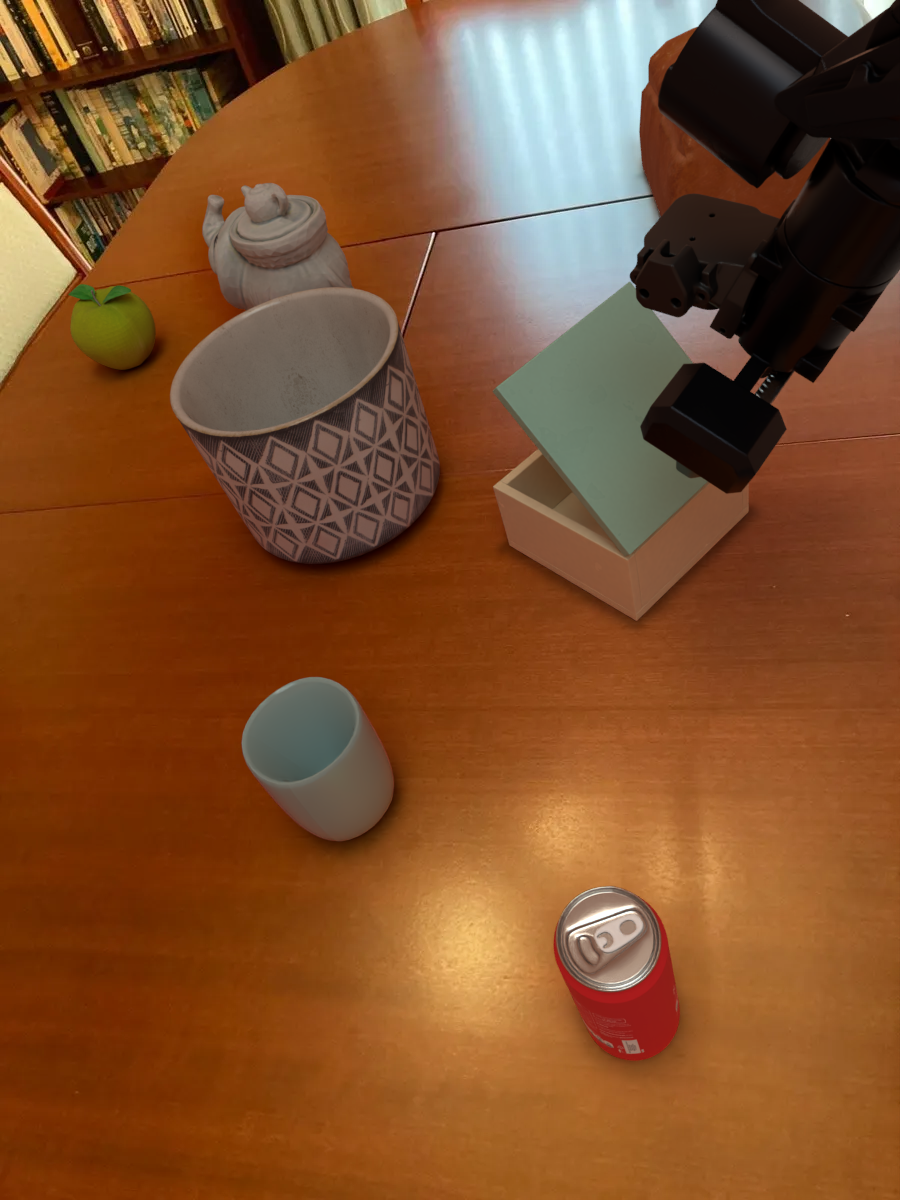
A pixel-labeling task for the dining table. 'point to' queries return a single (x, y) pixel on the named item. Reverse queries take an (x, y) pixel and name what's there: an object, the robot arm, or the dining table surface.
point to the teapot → (272, 247)
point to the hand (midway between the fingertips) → (721, 421)
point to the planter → (312, 423)
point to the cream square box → (585, 552)
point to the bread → (699, 154)
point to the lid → (605, 416)
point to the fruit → (112, 326)
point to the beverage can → (619, 971)
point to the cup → (320, 758)
